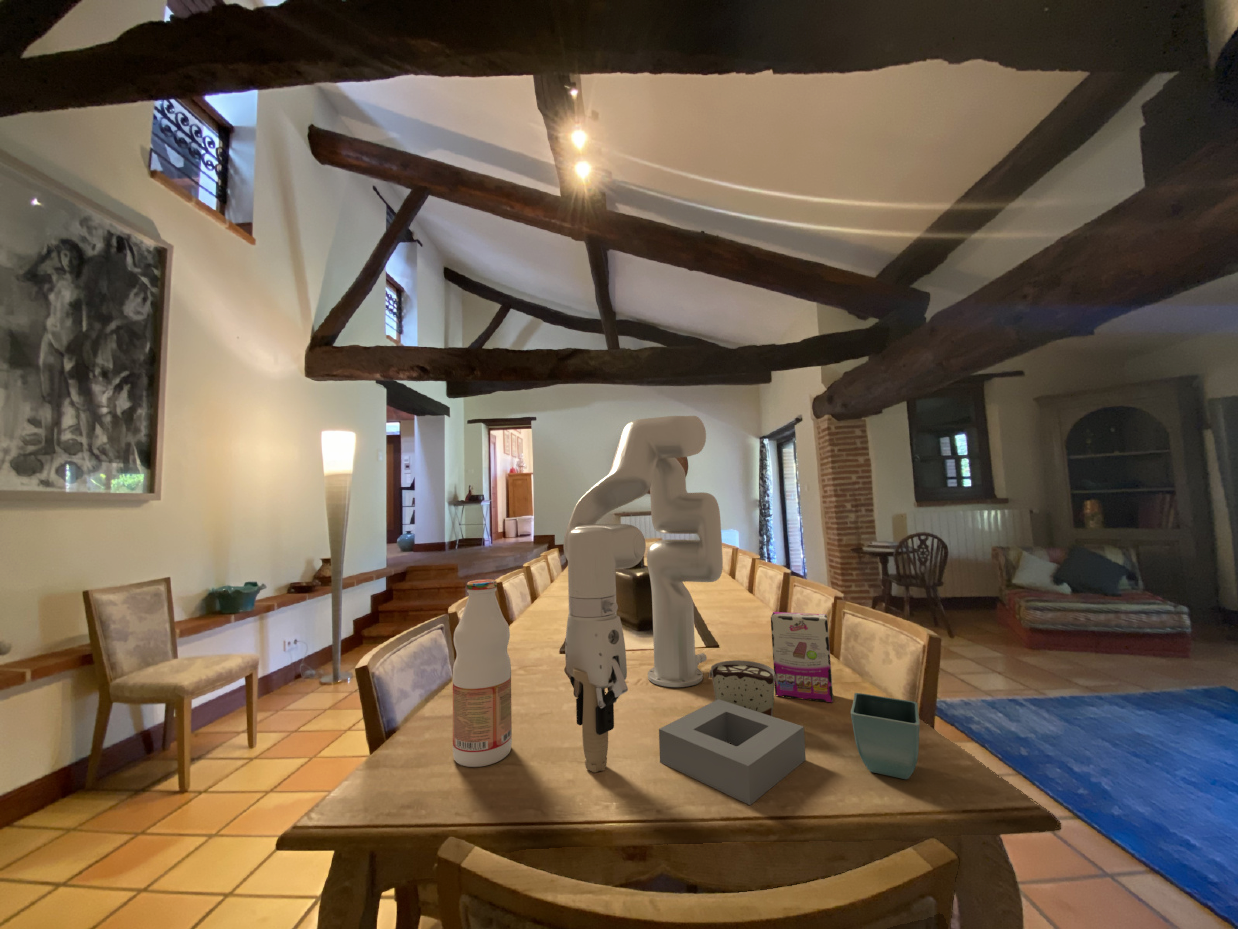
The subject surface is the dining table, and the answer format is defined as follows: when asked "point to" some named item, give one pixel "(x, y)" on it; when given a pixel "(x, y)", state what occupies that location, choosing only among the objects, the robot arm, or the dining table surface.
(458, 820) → the dining table surface
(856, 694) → the flower pot
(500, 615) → the fruit juice
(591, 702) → the handle
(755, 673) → the food container
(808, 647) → the candy bar box
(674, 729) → the well block
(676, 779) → the dining table surface
